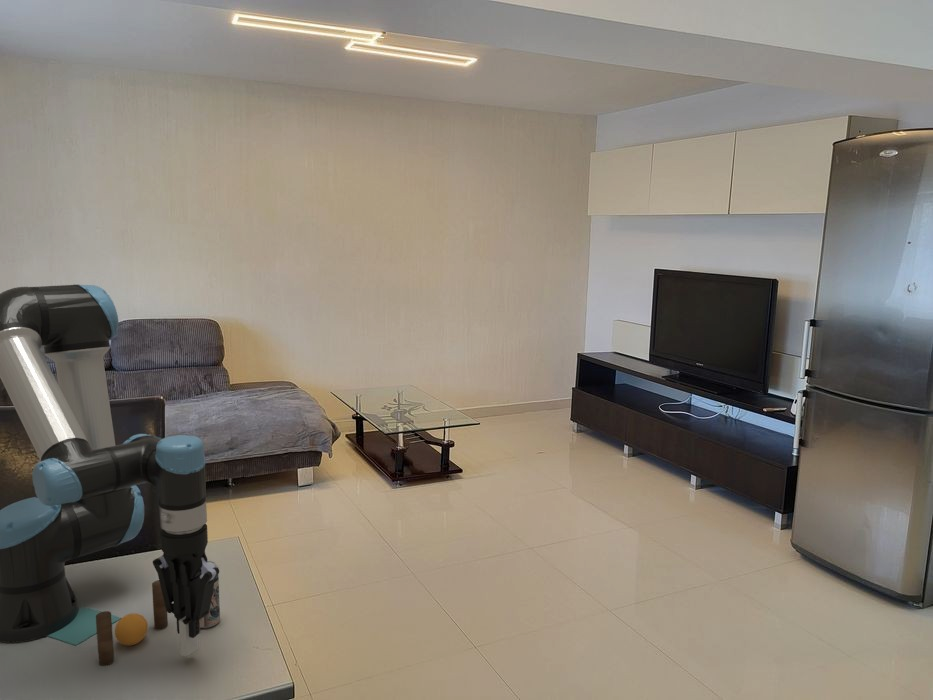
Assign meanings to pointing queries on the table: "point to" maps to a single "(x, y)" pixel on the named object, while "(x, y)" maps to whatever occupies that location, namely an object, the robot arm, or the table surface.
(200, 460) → the robot arm
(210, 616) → the beer can
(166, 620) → the post
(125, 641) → the ball
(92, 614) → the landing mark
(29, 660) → the table surface
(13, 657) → the table surface
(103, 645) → the post
